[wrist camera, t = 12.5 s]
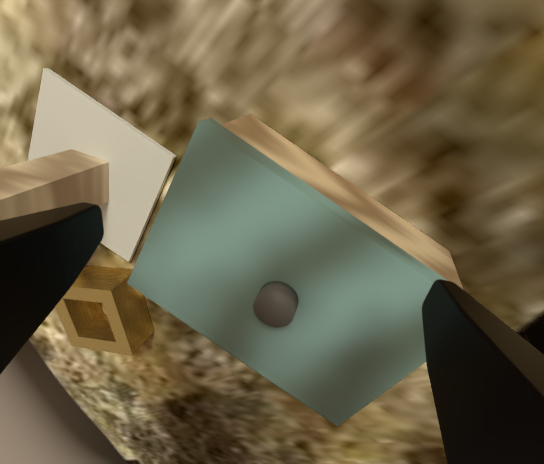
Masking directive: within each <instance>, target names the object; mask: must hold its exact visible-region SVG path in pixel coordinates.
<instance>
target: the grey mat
mask: <svg viewBox="0 0 544 464" xmlns="http://www.w3.org/2000/svg"><path fill="white" fill-rule="evenodd" d="M70 149H73V150H76V151H78V152H81V153H84V154H87V155H90V156H93V157H96V158H99V159H102V160H105V161H108V162H109V201H108V202H106V203H104V204H102V205H100V208H101V210H102V218H103V227H104V235H103V239H102V241H101V242H100V243H101V244H103V245H104V246H106V247H107V248H109V249H110V250H112V251H113V252H115V253H116V254H118V255H119V256H121V257H122V258H124V259H125V260H126V261H128V262H129V261H131V260H132V258H133V256H134V253H135V251H136V249H137V247H138V244H139V242H140V240H141V237H142V235H143V233H144V230H145V228H146V226H147V223H148V221H149V219H150V216H151V214H152V212H153V209H154V207H155V205H156V202H157V200H158V198H159V196H160V193H161V191H162V189H163V186H164V184H165V182H166V179H167V177H168V175H169V172H170V170H171V168H172V165H173V163H174V161H175V158H176V155H174V154H173V153H172V152H170V151H169V150H167V149H166V148H164V147H163V146H161V145H160V144H158V143H157V142H156V141H154V140H153V139H151V138H150V137H148V136H147V135H145V134H144V133H142V132H141V131H139V130H138V129H137V128H135V127H134V126H132V125H131V124H129V123H128V122H126V121H125V120H123V119H122V118H120V117H119V116H118V115H116V114H115V113H113V112H112V111H110V110H109V109H107V108H106V107H104V106H103V105H101V104H100V103H99V102H97V101H96V100H94V99H93V98H91V97H90V96H88V95H87V94H85V93H84V92H83V91H81V90H80V89H78V88H77V87H75V86H74V85H72V84H71V83H69V82H68V81H66V80H65V79H64V78H62V77H61V76H59V75H58V74H56V73H55V72H53V71H52V70H50V69H49V68H43V74H42V80H41V86H40V92H39V98H38V103H37V109H36V115H35V121H34V127H33V133H32V138H31V144H30V150H29V156H28V161H29V160H33V159H36V158H40V157H44V156H48V155H51V154H55V153H59V152H63V151H66V150H70Z"/></svg>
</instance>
